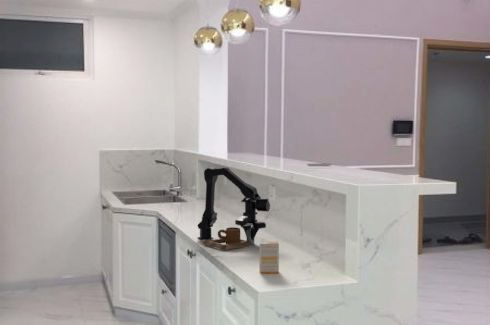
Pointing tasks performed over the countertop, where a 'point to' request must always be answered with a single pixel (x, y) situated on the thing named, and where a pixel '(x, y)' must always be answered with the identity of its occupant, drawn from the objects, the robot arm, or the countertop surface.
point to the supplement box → (269, 257)
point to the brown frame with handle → (229, 246)
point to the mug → (230, 235)
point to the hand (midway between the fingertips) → (250, 239)
